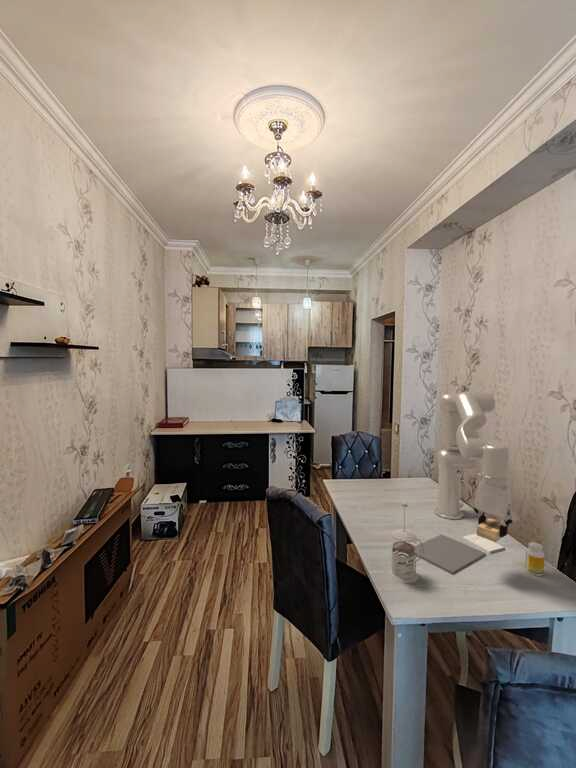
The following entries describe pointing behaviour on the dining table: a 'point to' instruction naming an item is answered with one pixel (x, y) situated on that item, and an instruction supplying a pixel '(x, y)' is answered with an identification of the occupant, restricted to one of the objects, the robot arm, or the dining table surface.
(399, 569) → the french press
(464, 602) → the dining table surface
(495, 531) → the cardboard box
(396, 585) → the dining table surface
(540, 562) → the supplement bottle
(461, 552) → the rubber mat
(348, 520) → the dining table surface
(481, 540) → the external hard drive
